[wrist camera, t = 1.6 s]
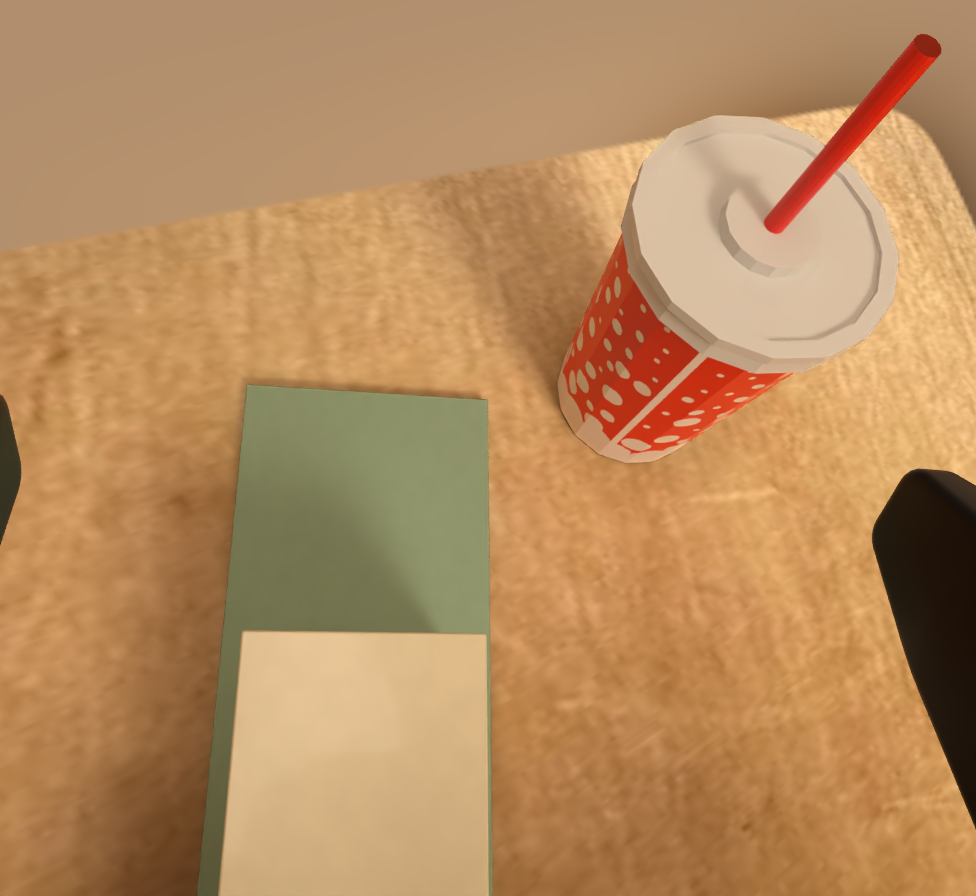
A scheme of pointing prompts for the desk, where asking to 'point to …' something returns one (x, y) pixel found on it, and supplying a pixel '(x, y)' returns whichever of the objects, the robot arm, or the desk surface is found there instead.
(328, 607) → the line mat
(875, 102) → the beverage cup
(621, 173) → the desk surface
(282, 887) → the cream block
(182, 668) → the desk surface
